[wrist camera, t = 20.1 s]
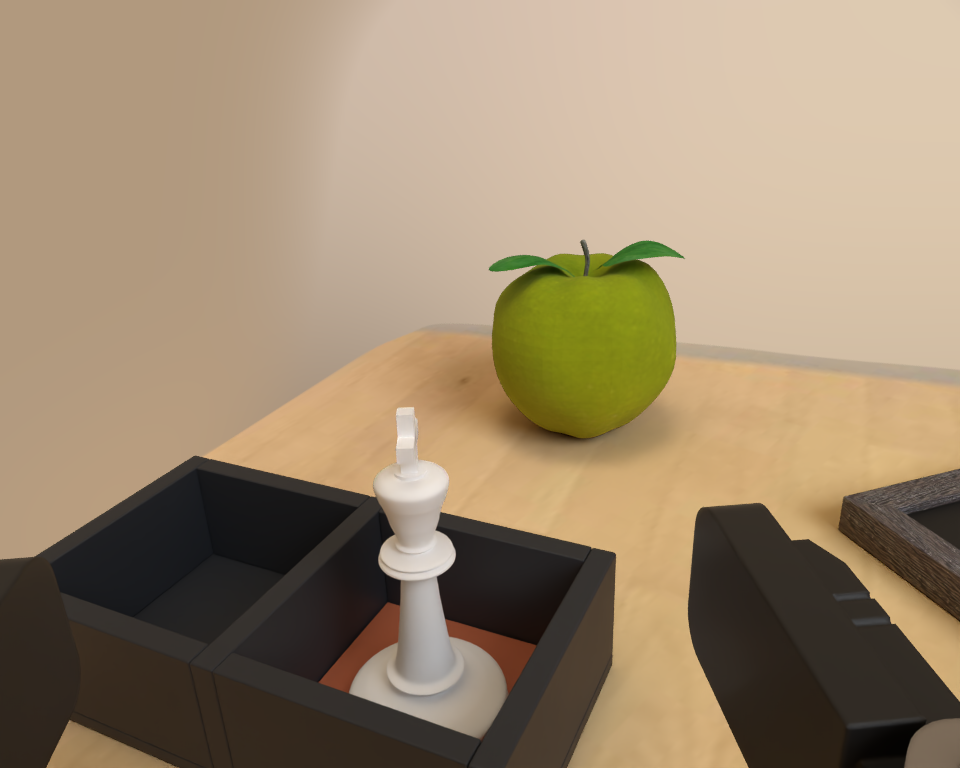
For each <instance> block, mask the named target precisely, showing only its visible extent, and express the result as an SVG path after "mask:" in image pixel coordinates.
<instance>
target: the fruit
mask: <svg viewBox="0 0 960 768" xmlns="http://www.w3.org/2000/svg"><path fill="white" fill-rule="evenodd" d="M581 246H582V248H583V251H584V255H572V254H558V255H554V256H552V257H550V258H548V259H543V258H541V257H537V256H530V255H518V256H512V257H507V258H504V259H502V260H499V261H498V262H496V263H494V264H493V265H492V266H491V267H490V268H489V270H490V271H507V270H514V269H519V268H524V267H529V266H534V265H537V266H535V267H534V268H532V269H531V270H529V271H528V272H526V273H525V274H523V275H522V276H520V277H519V278H517V279H516V280H514V281H513V282H512V283H511V284H509V286H507V287H506V289H505V290H504V291H503V292H502V293H501V295H500V297H499V299H498V301H497V303H496V307H495V312H494V322H493V331H492V350H493V359H494V365H495V369H496V372H497V376H498V378H499V381H500V383H501V385H502V387H503V389H504V391H505V392H506V394H507V396H508V397H509V398H510V400H511V401H512V402H513V404H514V405H515V406H516V407H517V408H518V409H519V410H520V411H521V412H522V413H523V414H524V415H525V416H526V417H527V418H528V419H530V420H531V421H532V422H533V423H535V424H537V425H538V426H540V427H542V428H544V429H547V430H549V431H554V432H559V433H564V434H568V435H571V436H574V437H577V438H592V437H595V436H599V435H601V434H604V433H606V432H608V431H610V430H612V429H615V428H619V427H621V426H623V425H625V424H627V423H629V422H630V421H632V420H633V419H634V418H636V417H637V416H638V415H639V414H641V413H642V412H643V411H644V410H645V409H646V408H647V407H648V406H649V405H650V404H651V403H652V402H653V401H654V400H655V399H656V398H657V396H658V395H659V394H660V393H661V391H662V390H663V389H664V387H665V385H666V384H667V382H668V380H669V378H670V376H671V374H672V371H673V369H674V365H675V360H676V331H675V318H674V312H673V307H672V303H671V300H670V297H669V294H668V291H667V289H666V287H665V285H664V283H663V281H662V280H661V278H660V277H659V275H658V274H657V273H656V271H655V270H654V269H653V268H652V267H650V265H648V264H647V263H645V262H642V261H640V260H636V259H643V258H651V257H662V256H671V257H679V258H684V257H683V256H681V255H680V254H678V253H677V252H676V251H674V250H672V249H671V248H669V247H667V246H665V245H663V244H660V243H658V242H653V241H640V242H637V243H634V244H632V245H629V246H628V247H626V248H624V249H622V250H621V251H619V252H618V253H617V254H615V255H614V256H612V255H609V254H604V253H601V254H591V255H589V251H588V247H587V244H586V241H585V240H581Z"/></svg>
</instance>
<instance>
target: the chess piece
mask: <svg viewBox="0 0 960 768" xmlns="http://www.w3.org/2000/svg"><path fill="white" fill-rule="evenodd" d="M396 422H397V434H398V439H397V445H396V457H397V462H396V463H393V464H391V465H389V466H387V467H385V468H384V469H382V470H381V471H380V472H379V473H378V474H377V475H376V477H375V479H374V481H373V489H374V493H375V495H376V498H377V500H378V502H379V504H380V505H381V507H382V508H383V510H384V512H385V514H386V516H387V518H388V521H389V524H390V526H391V528H392V530H393V532H394V533H395V535H393V536H391V537H390V538H388V539H387V540H386V541H385V542H384V543H383V545H382V547H381V549H380V554H379V557H378V562H379V566H380V568H381V569H382V570H383V572H384V573H386V574H387V575H389V576H391V577H393V578H395V579H399V580H401V600H400V619H399V635H398V643H395V644H393V645H391V646H389V647H387V648H385V649H383V650H381V651H380V652H378V653H377V654H375V655H374V656H373V657H372V658H370V659H369V660H368V661H367V662H366V663H365V664H364V665H363V666H362V668H361V669H360V670H359V672H358V673H357V674H356V676H355V678H354V680H353V682H352V684H351V687H350V690H349V694H352V695H355V696H358V697H361V698H364V699H367V700H369V701H372V702H375V703H378V704H381V705H384V706H387V707H389V708H392V709H395V710H398V711H401V712H404V713H407V714H409V715H412V716H415V717H418V718H421V719H424V720H427V721H429V722H432V723H435V724H438V725H441V726H444V727H446V728H449V729H452V730H455V731H458V732H461V733H464V734H466V735H469V736H472V737H475V738H478V739H480V740H481V742H482V740H483V739H484V737H485V735H486V733H487V732H488V730H489V728H490V726H491V725H492V723H493V721H494V719H495V718H496V716H497V714H498V712H499V711H500V709H501V707H502V705H503V704H504V702H505V700H506V698H507V697H508V695H509V693H508V690H507V684H506V680H505V677H504V674H503V672H502V670H501V668H500V666H499V665H498V663H497V662H496V661H495V660H494V659H493V657H492V656H490V655H489V654H488V653H487V652H486V651H484V650H483V649H481V648H480V647H478V646H476V645H474V644H472V643H470V642H467V641H465V640H461V639H458V638H453V637H449V635H448V631H447V626H446V622H445V617H444V613H443V608H442V604H441V599H440V594H439V587H438V582H437V576H439V575H441V574H442V573H444V572H445V571H447V570H448V569H449V568H450V567H451V566H452V564H453V563H454V561H455V557H456V552H455V549H454V547H453V544H452V542H451V540H450V539H449V538H448V537H447V536H446V535H444V534H443V533H441V532H438V531H435V530H436V527H437V524H438V521H439V516H440V511H441V508H442V505H443V502H444V500H445V498H446V494H447V491H448V486H449V477H448V474H447V472H446V471H445V470H444V469H443V468H442V467H441V466H439V465H437V464H435V463H433V462H430V461H425V460H418V451H417V439H418V423H417V418H415V411H414V407H407V408H397V412H396Z"/></svg>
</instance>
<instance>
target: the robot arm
mask: <svg viewBox="0 0 960 768" xmlns="http://www.w3.org/2000/svg"><path fill="white" fill-rule="evenodd" d="M688 620H689V628H690V634H691V639H692V643H693V647H694V650H695V653H696V655H697V658H698V660H699V662H700V664H701V666H702V669H703V671H704V673H705V675H706V677H707V679H708V681H709V684H710V686H711V688H712V690H713V692H714V694H715V697H716V699H717V701H718V703H719V705H720V707H721V709H722V712H723V714H724V716H725V718H726V720H727V722H728V724H729V727H730V729H731V731H732V733H733V735H734V737H735V739H736V742H737V744H738V746H739V748H740V750H741V752H742V754H743V757H744V759H745V761H746V763H747V765H748V767H749V768H960V702H959V700H958V699H957V698H956V697H955V696H954V694H953V693H952V692H951V691H950V690H949V688H948V687H947V686H946V685H945V683H944V682H943V681H942V680H941V679H940V677H939V676H938V675H937V674H936V673H935V671H934V670H933V669H932V668H931V666H930V665H929V664H928V663H927V662H926V660H925V659H924V658H923V657H922V656H921V654H920V653H919V652H918V651H917V649H916V648H915V647H914V646H913V645H912V643H911V642H910V641H909V640H908V639H907V637H906V636H905V635H904V634H903V633H902V631H901V630H900V629H899V628H898V626H897V625H896V624H891V622H890V617H889V616H888V614H887V613H886V612H885V611H884V609H883V608H882V607H881V606H880V605H879V603H878V602H877V601H876V600H875V599H871V598H870V592H869V591H868V590H867V589H866V588H865V586H864V585H863V584H862V583H861V582H860V580H859V579H858V578H857V577H856V576H855V574H854V573H853V572H852V571H851V569H850V568H849V567H848V566H847V565H846V563H844V562H843V561H841V560H840V559H838V558H837V557H835V556H834V555H832V554H830V553H829V552H827V551H826V550H824V549H823V548H821V547H820V546H818V545H816V544H815V543H813V542H812V541H810V540H809V539H806V540H793V541H791V539H790V538H789V537H788V535H787V534H786V533H785V531H784V530H783V529H782V527H781V526H780V525H779V523H778V522H777V521H776V519H775V518H774V517H773V515H772V514H771V513H770V511H769V510H768V509H767V508H766V507H765V506H764V505H763V504H761V503H753V504H740V505H727V506H714V507H703V508H701V509H700V510H699V511H698V514H697V517H696V521H695V531H694V542H693V554H692V565H691V577H690V588H689V600H688ZM80 680H81V667H80V658H79V654H78V650H77V647H76V644H75V640H74V637H73V634H72V630H71V627H70V624H69V620H68V617H67V614H66V610H65V607H64V604H63V600H62V597H61V594H60V590H59V587H58V584H57V580H56V577H55V574H54V571H53V568H52V567H51V565H50V563H49V562H48V561H47V560H46V559H45V558H43V557H28V558H15V559H4V560H3V559H2V560H0V768H46V767H47V765H48V762H49V760H50V758H51V756H52V754H53V752H54V750H55V748H56V746H57V744H58V742H59V740H60V738H61V736H62V734H63V732H64V729H65V727H66V725H67V723H68V721H69V719H70V717H71V715H72V713H73V711H74V708H75V706H76V702H77V699H78V695H79V689H80Z"/></svg>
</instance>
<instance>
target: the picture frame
mask: <svg viewBox="0 0 960 768" xmlns="http://www.w3.org/2000/svg"><path fill="white" fill-rule="evenodd" d="M838 529H839V530H840V531H841V532H843V533H844V534H845V535H847V536H848V537H849V538H851V539H852V540H853V541H855V542H856V543H857V544H859V545H860V546H861V547H863V548H864V549H865V550H867V551H868V552H869V553H871V554H872V555H873V556H875V557H876V558H877V559H879V560H880V561H881V562H883V563H884V564H885V565H887V566H888V567H889V568H891V569H892V570H893V571H895V572H896V573H897V574H899V575H900V576H901V577H903V578H904V579H905V580H907V581H908V582H910V583H911V584H912V585H914V586H915V587H916V588H918V589H919V590H920V591H922V592H923V593H924V594H926V595H927V596H928V597H930V598H931V599H932V600H934V601H935V602H936V603H938V604H939V605H940V606H942V607H943V608H944V609H946V610H947V611H948V612H950V613H951V614H952V615H954V616H955V617H956V618H958V619H959V620H960V469H957V470H953V471H949V472H945V473H941V474H936V475H932V476H928V477H924V478H920V479H916V480H911V481H907V482H903V483H899V484H895V485H891V486H886V487H882V488H878V489H874V490H870V491H866V492H861V493H857V494H853V495H849V496H845V497H844V498H843V504H842V510H841V516H840V522H839V528H838Z"/></svg>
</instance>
